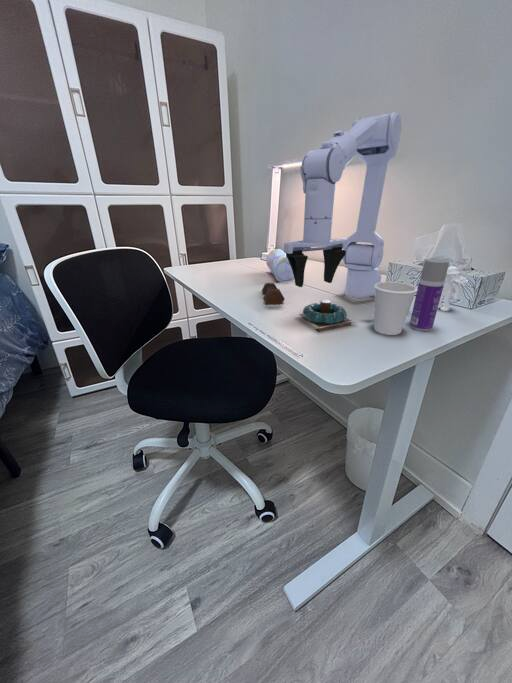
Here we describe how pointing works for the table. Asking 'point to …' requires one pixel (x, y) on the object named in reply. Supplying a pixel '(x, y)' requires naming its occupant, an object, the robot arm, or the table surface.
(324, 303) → the post
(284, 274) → the pencil case
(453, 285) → the hat wearing toy figure
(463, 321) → the table surface
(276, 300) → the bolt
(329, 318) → the ring
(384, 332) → the dixie cup
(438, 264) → the container
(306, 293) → the table surface
